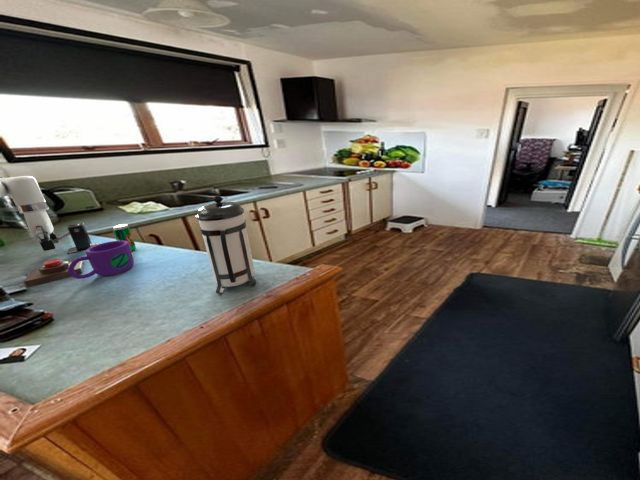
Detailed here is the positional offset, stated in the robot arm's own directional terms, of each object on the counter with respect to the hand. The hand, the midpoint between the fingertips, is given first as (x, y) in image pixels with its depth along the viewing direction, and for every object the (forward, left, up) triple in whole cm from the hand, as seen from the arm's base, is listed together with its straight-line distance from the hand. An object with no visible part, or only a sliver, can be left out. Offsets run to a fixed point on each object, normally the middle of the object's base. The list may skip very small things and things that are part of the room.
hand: (51, 246), depth 114 cm
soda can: (+23, -18, -5) cm, 29 cm away
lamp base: (+3, -26, -4) cm, 27 cm away
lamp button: (+3, -26, -1) cm, 26 cm away
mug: (+16, -39, -5) cm, 42 cm away
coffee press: (+48, -82, -5) cm, 95 cm away
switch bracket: (+9, 0, -4) cm, 10 cm away
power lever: (+5, 0, +3) cm, 6 cm away
